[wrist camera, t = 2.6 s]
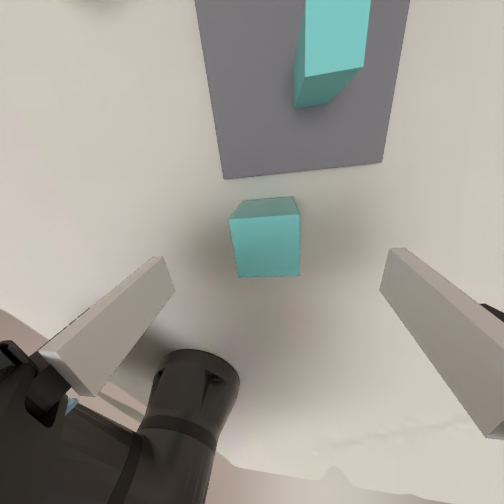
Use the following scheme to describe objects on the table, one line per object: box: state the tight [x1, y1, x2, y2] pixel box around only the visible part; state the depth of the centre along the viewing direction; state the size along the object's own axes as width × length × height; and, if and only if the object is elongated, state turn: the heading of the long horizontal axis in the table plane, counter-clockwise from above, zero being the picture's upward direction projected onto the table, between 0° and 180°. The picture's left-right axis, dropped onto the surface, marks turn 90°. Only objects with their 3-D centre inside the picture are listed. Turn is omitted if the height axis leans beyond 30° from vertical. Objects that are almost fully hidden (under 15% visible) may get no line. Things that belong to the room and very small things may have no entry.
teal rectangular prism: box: [229, 197, 300, 277], centre depth 18 cm, size 5×5×7 cm
